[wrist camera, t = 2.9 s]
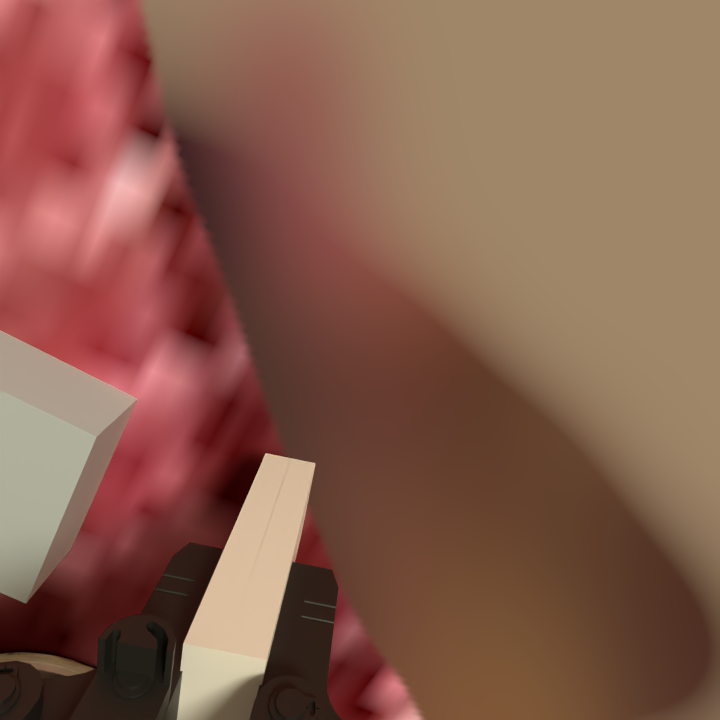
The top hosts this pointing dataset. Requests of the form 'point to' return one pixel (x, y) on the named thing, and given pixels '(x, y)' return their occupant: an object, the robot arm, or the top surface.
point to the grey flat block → (49, 458)
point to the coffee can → (47, 664)
